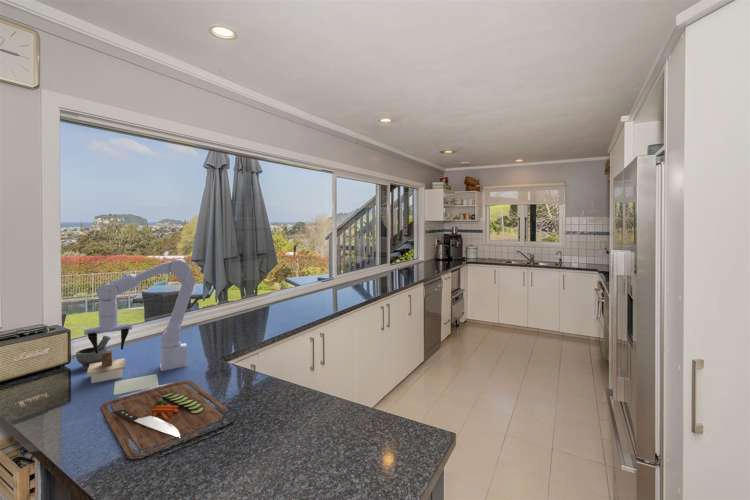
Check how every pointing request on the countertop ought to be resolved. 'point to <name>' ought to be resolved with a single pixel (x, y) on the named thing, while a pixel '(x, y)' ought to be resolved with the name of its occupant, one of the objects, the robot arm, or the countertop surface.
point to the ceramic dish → (106, 376)
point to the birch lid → (106, 364)
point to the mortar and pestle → (92, 354)
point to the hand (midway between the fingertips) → (109, 350)
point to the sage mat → (135, 384)
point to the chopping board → (160, 415)
